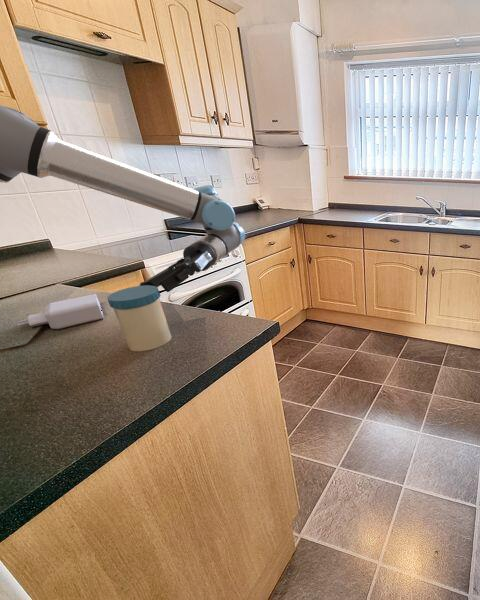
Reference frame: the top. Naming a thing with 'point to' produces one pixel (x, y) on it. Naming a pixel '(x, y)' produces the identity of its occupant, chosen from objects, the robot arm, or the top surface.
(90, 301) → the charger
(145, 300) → the lid
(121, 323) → the jar
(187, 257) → the robot arm
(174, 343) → the top surface
